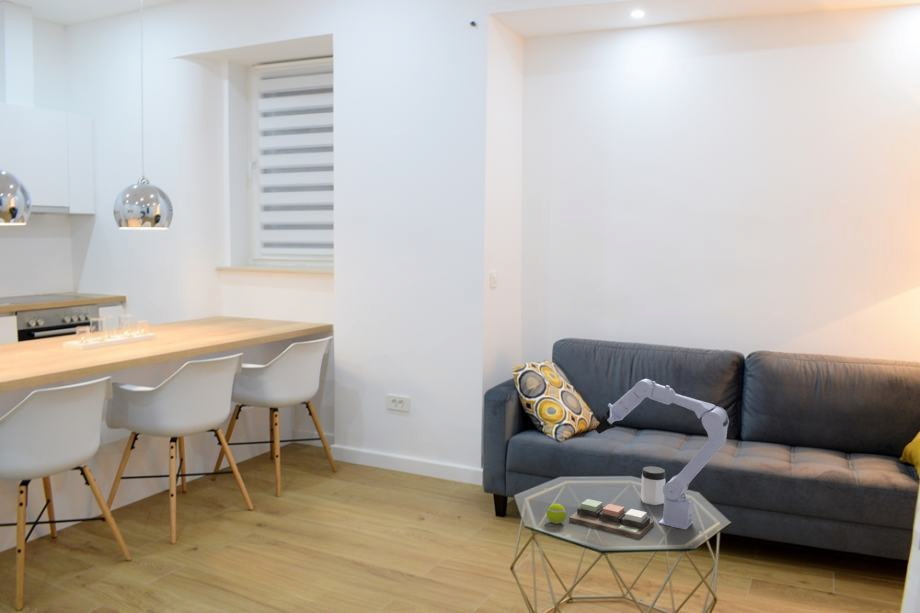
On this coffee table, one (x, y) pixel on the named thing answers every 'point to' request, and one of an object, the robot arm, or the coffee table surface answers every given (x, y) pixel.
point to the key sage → (591, 505)
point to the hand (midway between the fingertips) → (599, 427)
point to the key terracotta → (613, 510)
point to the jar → (652, 485)
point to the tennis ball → (556, 513)
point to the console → (611, 522)
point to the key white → (636, 515)
